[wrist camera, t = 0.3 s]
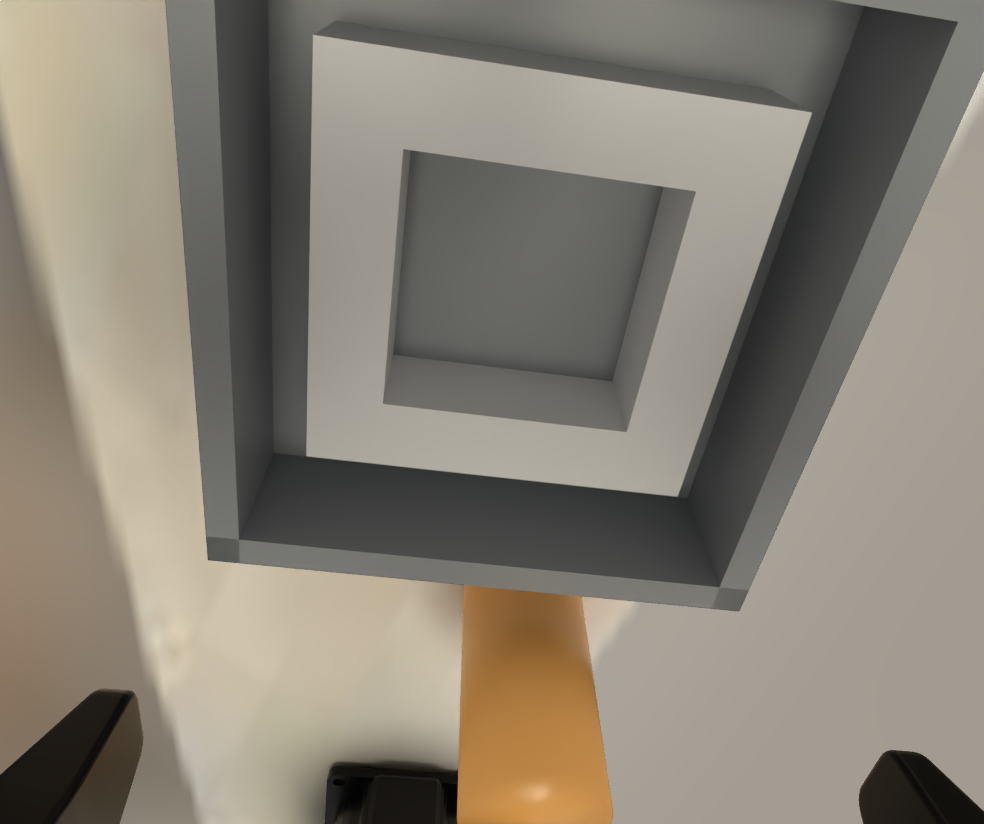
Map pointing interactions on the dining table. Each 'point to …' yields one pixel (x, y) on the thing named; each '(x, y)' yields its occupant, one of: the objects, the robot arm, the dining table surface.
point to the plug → (528, 713)
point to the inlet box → (541, 272)
